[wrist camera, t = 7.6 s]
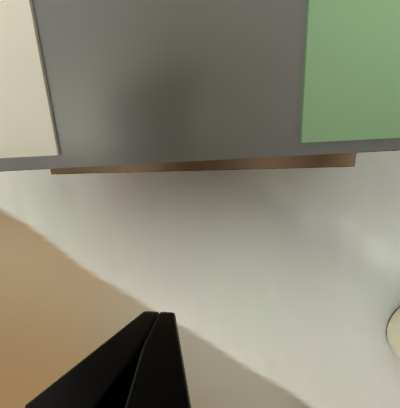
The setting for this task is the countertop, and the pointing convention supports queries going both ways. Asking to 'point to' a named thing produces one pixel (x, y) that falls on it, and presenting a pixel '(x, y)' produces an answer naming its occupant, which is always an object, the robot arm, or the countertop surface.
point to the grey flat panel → (195, 80)
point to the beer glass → (394, 332)
